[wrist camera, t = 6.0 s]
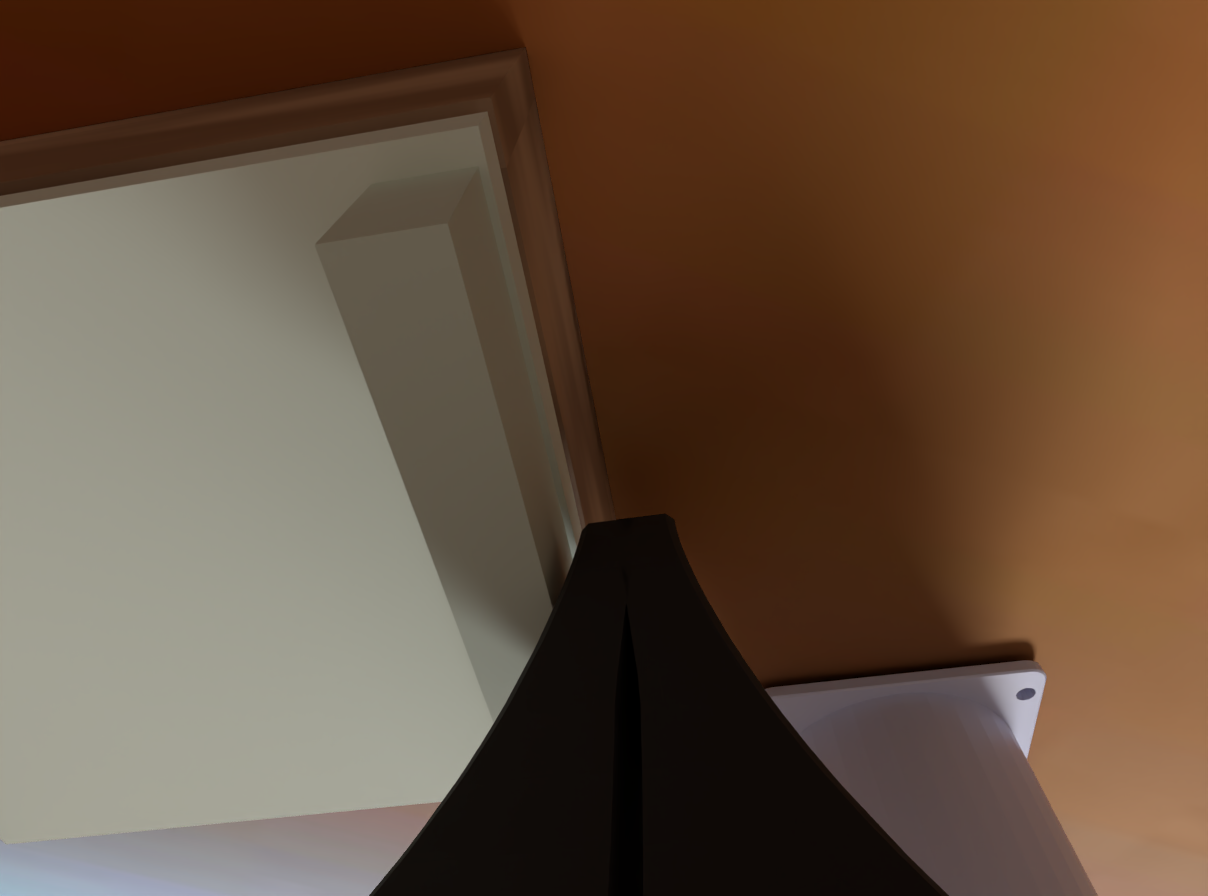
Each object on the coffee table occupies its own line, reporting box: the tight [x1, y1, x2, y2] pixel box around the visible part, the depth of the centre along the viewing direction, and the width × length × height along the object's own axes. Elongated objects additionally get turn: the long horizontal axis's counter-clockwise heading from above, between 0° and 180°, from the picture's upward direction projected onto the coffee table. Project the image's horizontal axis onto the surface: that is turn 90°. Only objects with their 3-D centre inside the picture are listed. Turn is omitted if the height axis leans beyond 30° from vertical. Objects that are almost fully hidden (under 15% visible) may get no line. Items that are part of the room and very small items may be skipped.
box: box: [0, 47, 616, 530], centre depth 14 cm, size 12×14×7 cm
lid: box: [0, 112, 582, 844], centre depth 11 cm, size 12×13×3 cm
